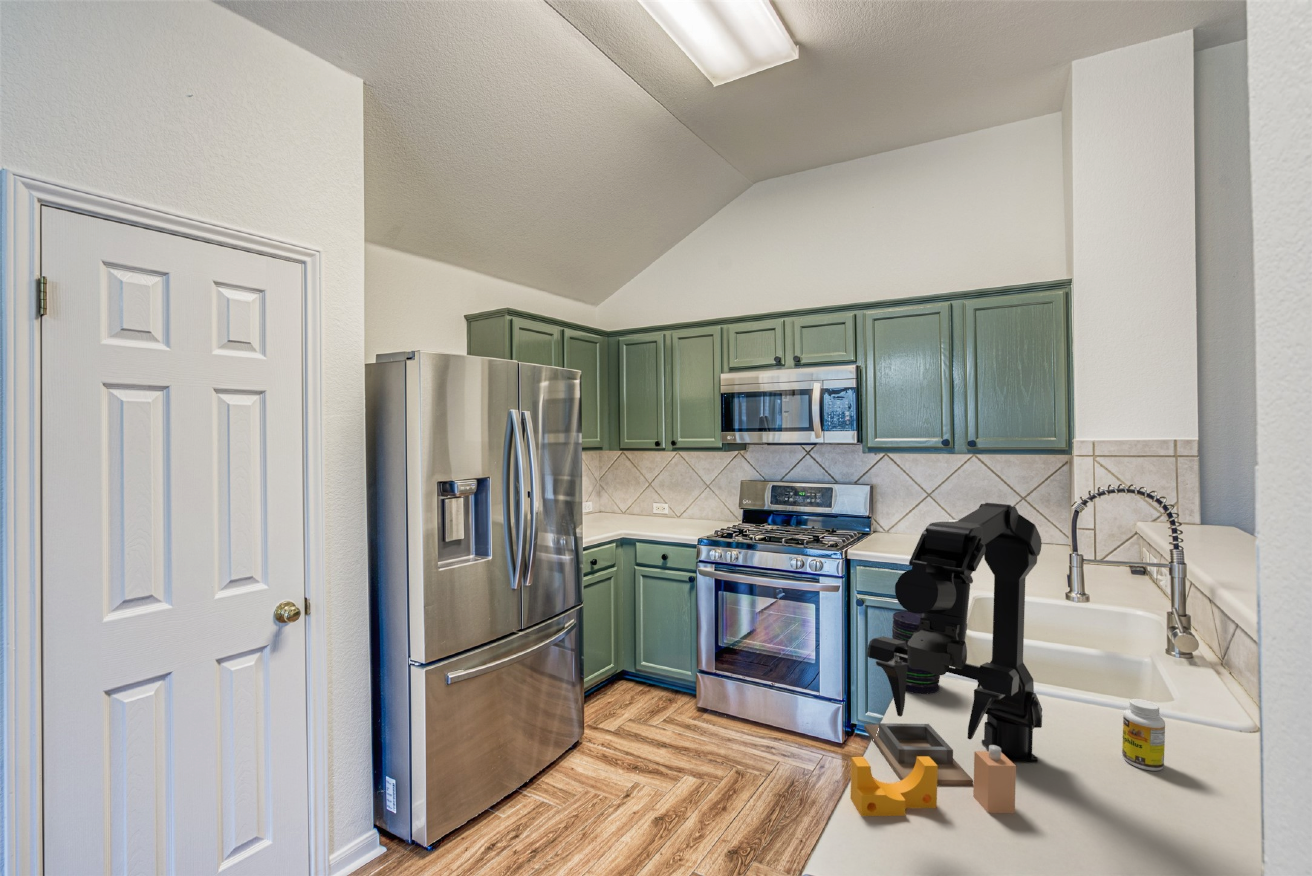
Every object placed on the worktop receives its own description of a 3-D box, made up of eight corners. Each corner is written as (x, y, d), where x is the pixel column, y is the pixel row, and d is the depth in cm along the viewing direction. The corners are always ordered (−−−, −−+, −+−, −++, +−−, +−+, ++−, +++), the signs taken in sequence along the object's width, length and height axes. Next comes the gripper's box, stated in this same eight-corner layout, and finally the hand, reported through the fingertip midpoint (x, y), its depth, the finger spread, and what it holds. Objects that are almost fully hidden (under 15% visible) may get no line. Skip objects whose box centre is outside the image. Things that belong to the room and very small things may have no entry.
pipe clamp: (861, 817, 89) (862, 772, 89) (850, 799, 93) (851, 756, 93) (942, 816, 90) (943, 772, 90) (928, 798, 94) (929, 756, 94)
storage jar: (934, 678, 139) (936, 612, 139) (944, 697, 130) (946, 626, 129) (888, 674, 142) (889, 609, 141) (894, 691, 132) (895, 622, 132)
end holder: (922, 729, 115) (923, 712, 115) (972, 784, 97) (973, 764, 97) (864, 728, 115) (864, 711, 115) (903, 784, 97) (903, 764, 97)
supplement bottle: (1113, 754, 107) (1115, 696, 107) (1145, 754, 107) (1146, 696, 107) (1140, 772, 102) (1141, 711, 101) (1172, 772, 102) (1174, 710, 102)
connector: (999, 796, 94) (1000, 740, 94) (1014, 813, 90) (1016, 754, 90) (973, 796, 94) (974, 740, 94) (987, 812, 90) (988, 754, 90)
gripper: (859, 600, 87) (846, 713, 86) (1008, 632, 76) (997, 765, 74) (886, 598, 96) (874, 702, 94) (1024, 628, 84) (1014, 747, 82)
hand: (933, 726), depth 86 cm, fingers open, 9 cm apart
